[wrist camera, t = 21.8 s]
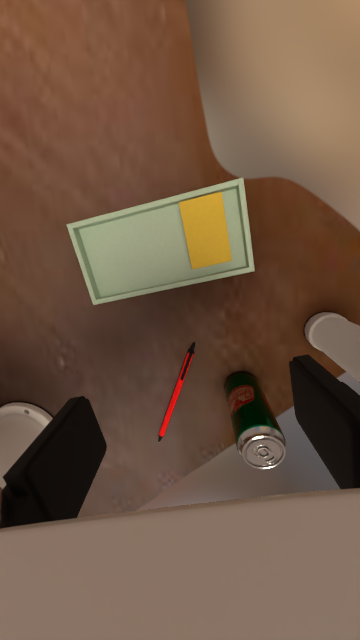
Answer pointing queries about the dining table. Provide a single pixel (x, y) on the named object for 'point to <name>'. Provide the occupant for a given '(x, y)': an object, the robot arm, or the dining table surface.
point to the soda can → (254, 423)
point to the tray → (156, 246)
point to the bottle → (336, 340)
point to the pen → (176, 391)
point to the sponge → (206, 230)
